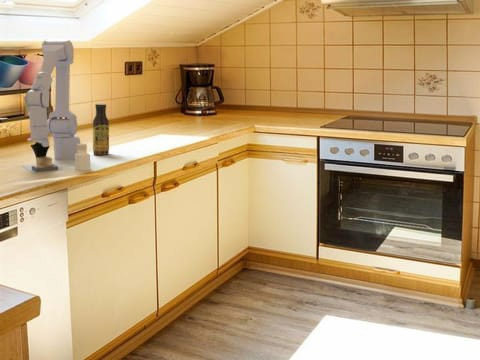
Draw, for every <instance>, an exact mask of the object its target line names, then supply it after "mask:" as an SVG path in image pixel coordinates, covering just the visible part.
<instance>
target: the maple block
mask: <svg viewBox="0 0 480 360" xmlns="http://www.w3.org/2000/svg"><path fill="white" fill-rule="evenodd" d="M35 160H36V161H35V162H36V164H37V168H42V167H51V166H52V164H53V158H52V157H50V156H48V155H46V156H45V157H36V156H35Z"/></svg>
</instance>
